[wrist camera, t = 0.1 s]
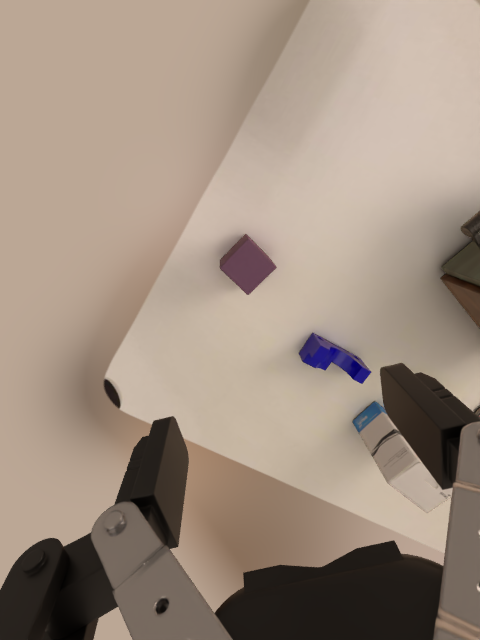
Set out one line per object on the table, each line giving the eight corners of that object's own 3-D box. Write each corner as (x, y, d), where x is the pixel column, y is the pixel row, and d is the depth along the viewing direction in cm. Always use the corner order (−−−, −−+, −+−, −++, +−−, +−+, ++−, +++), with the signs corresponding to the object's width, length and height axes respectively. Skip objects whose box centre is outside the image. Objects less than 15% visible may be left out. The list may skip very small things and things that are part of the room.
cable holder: (298, 353, 46) (305, 367, 42) (312, 332, 45) (320, 345, 41) (344, 376, 48) (355, 392, 44) (359, 357, 47) (371, 372, 43)
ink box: (350, 421, 51) (385, 484, 40) (374, 399, 50) (418, 459, 38) (385, 448, 53) (428, 516, 42) (410, 428, 52) (461, 493, 41)
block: (219, 260, 41) (219, 268, 37) (245, 233, 40) (248, 238, 36) (245, 285, 42) (248, 295, 38) (271, 259, 41) (276, 267, 37)
